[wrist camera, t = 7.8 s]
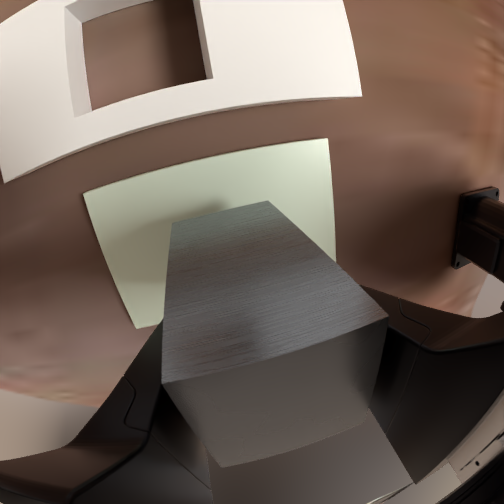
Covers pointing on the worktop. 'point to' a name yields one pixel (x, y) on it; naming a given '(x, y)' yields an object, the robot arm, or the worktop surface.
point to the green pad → (204, 210)
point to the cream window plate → (169, 99)
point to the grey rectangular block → (264, 335)
